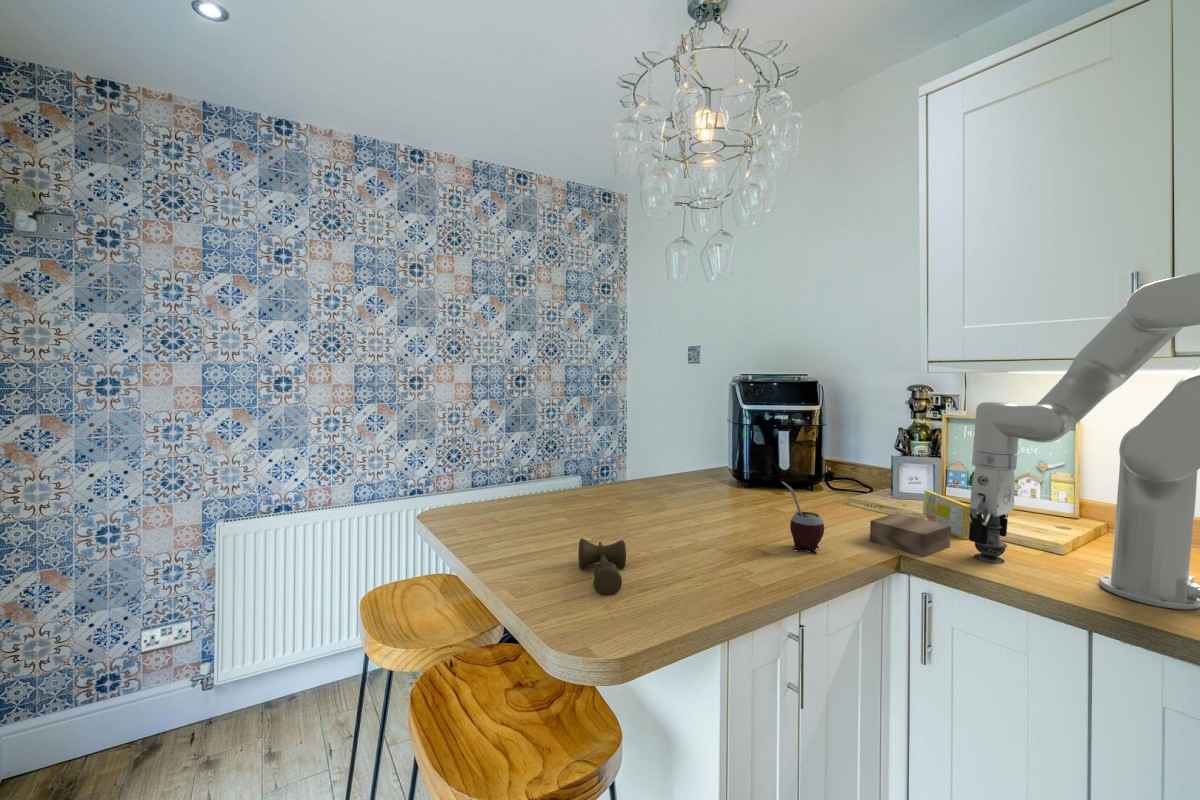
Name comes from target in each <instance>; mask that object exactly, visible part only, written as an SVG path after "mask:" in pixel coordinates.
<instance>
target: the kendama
mask: <svg viewBox="0 0 1200 800" xmlns="http://www.w3.org/2000/svg"><path fill="white" fill-rule="evenodd" d="M578 543H579V544H578V550H577V551H578V553H577V554H578V555H577V556H578V567H579V569H580V570H584V569H586V568H587V567H589V566H591V565H593V564H596V565H595V567H594V569H593V587H594V590H595V591H596V593H597V594H600V595H601V596H613V595H616V594H617V593H619V591H620V590H621V588H622V584H623V580H622V576H621V574H620V572H619V569H624V568H626V567H625V566H626V562H627V547H626V543H625V541H624V539H621V540H617V541H616V542H614V543H611V544H607V545H603V544H602V542H601V541H598V544H594V543H592V542H590V541H588V540H586V539H585V538H580V540H579V542H578Z"/></svg>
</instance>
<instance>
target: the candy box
mask: <svg viewBox="0 0 1200 800" xmlns="http://www.w3.org/2000/svg"><path fill="white" fill-rule="evenodd" d="M923 495H924V496H923V505H922V515H923V514H924V515H926V517H927V519H928V520H929V521H933V522H938V523H942V524H946V525H950V526H951V534H950V535H953V536H955V537H957V538H959V539H961V540H969V529H970V516H969V514H970V505H969V504H966V503H965V502H964V503H963V502H961V501H958V500H957V499H953V498H952V497H948V496H945V495H942V494H939V493H936V492H934V491H931V490H927V489H926V490H924V493H923Z"/></svg>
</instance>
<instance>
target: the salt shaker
mask: <svg viewBox="0 0 1200 800" xmlns="http://www.w3.org/2000/svg"><path fill="white" fill-rule="evenodd" d="M984 511H985V510H984ZM982 518H984V515H982ZM987 526H989V530H988V542H987V544H985V545H984V544H980V543H976V542H974V547H975V549H976V550H977V551H978V552H979V553H976V554H974V555H973V557H974V558H975V559H976V560H978V561H981V562H984V563H989V564H994V565H995V564H999V565H1001V564H1004V563H1005V559H1003V558H1002V557H1001V556H1002V555H1003V554H1004V553H1005V552H1006V549H1007V548H1008V545H1007V544H1006V543H1005V542H1002V540H1001V538H1000V537H1001V536H999V533H1000V528H1002V527H1001V526H1000V516H998V517H994V516H993V514H991V515H990V518H989V520H988V523H987Z"/></svg>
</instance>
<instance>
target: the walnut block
mask: <svg viewBox="0 0 1200 800" xmlns="http://www.w3.org/2000/svg"><path fill="white" fill-rule="evenodd" d="M869 527H870V529H869V542H871V543H874V544H878V545H882V546H886V547H888V548H890V549H894V550H899V551H902V552H905V553H908V554H912V555H915V556H919V557H921V558H925V557H928V556H931V555H933V554H936V553H938V552H941V551H944V550H945V549H948V548H950V547H951V535H952V534H951V526H950V525H946V524H942V523H938V522H933V521H929V520H925V519H922V517H920V518H919V517H916V516H912V515H907V514H903V513H899V512H896V513H892V514H889V515H885V516H881V517H879V518H876V519H875V518H874V519H871V520H870V525H869Z"/></svg>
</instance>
